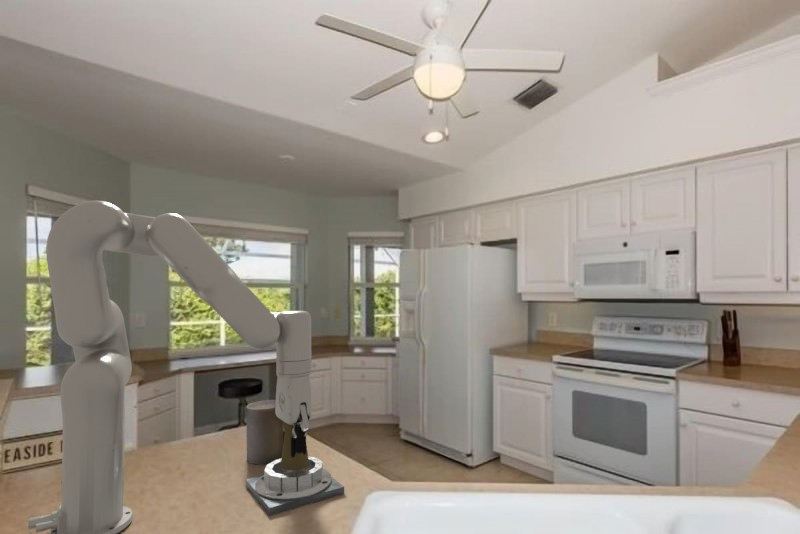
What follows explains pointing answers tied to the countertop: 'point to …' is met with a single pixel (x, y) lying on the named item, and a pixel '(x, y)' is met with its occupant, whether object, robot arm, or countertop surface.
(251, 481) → the rosette plate
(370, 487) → the countertop surface
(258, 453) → the pillar candle
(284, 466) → the olive knobbed peg
